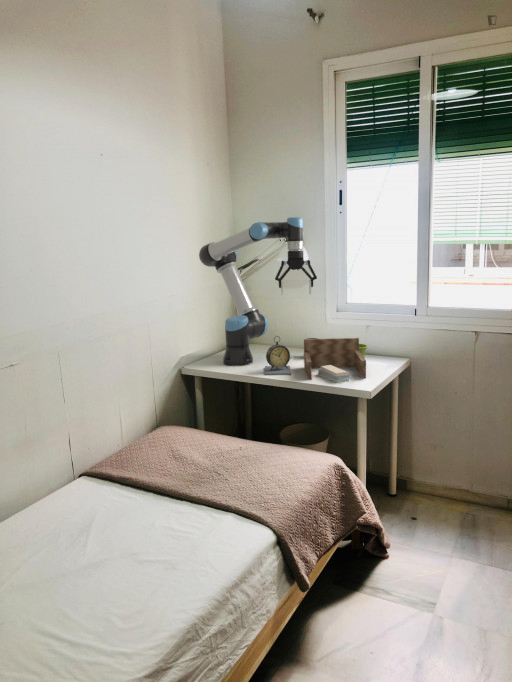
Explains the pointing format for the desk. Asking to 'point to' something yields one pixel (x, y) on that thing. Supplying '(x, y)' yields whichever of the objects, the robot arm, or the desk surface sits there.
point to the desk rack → (333, 354)
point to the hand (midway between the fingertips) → (296, 294)
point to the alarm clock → (278, 356)
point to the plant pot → (362, 349)
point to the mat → (277, 370)
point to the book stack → (333, 373)
